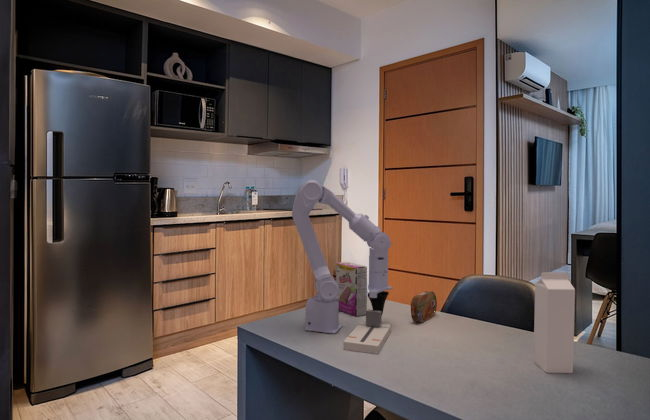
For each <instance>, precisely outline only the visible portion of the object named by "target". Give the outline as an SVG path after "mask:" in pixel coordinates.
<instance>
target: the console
mask: <svg viewBox="0 0 650 420" xmlns="http://www.w3.org/2000/svg"><path fill="white" fill-rule="evenodd" d="M391 332H392V324H388V323H381V326H380V327H374V326H366V321H360V322H359V323H358V325H356V327H355V328H354V329H353V330H352V332H350V334H349V335H347V337H346V338H345V339H344V340H343V341H342V342H343V343H342V345H343V346H342V348H343V350H345V351H351V352H352V351H353V352H360V353H367V354H375V355H378V354H379V353H380V352H381V350H382V348H383V346H384V345H385V343H386V342H387V340H388V338H389V336H390V334H391Z"/></svg>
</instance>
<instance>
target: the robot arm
mask: <svg viewBox="0 0 650 420" xmlns="http://www.w3.org/2000/svg"><path fill="white" fill-rule="evenodd" d="M293 201H294V202H293V207H292V210H291V217H292V220H293V222H294V224H295V227H296V230H297V233H298V235H299V238H300V241H301V243H302V246H303V249H304V251H305V254H306V256H307V260H308V262H309V265H310V268H311V270H312V273H313V275H314V287H315V289H316V294H315V295H314V296H313V297H308V299H307V300H306V304H305V328H304V330H305V331H308V332H309V331H310V332H319V333H325V334H336V333H337V332H339V330H341V329H342V327H343V326H344V324H343V323H339V321H340V319H339V315H340V312H339V297H338V294H339V285H338V284H337V282H336V279H335V278H334V276H333V275H331V272H330V269H329V266H328V265H327V262H326V260H325V255H324V253H323V251H322V249H321V246H320V242H319V240H318V238H317V235H316V233H315V230H314V227H313V224H312V221H311V218H310V214H311V211H312V210H313V208H314V205H315V204H317V203H320V204H324V205H327V206H329V207H330V208H331V209H333V210H334V211H335V212H336V213H338V215H340V216H341V217H343V219H345V220H346V221H347V222H348V229H349V230H351V231H352V232H353V233H354V234H356V236H358V238H360V239H361V240H362V241H363V242H365V243H366V244H367V246H368V249H369V255H368V284H367V290H369V291H368V292H367V297H368V299H369V301H370V303H371V308H372V309H371V310H377V311H382V315H383V314H384V309H385V304H386V300H387V298H388V296H389V295H390V294H389V293H390V292H389V290H390V291H391V290H392V289H393V286H392V285H389V249H390V248H391V245H392V242H391V239H390V236H389V235H388V234H387V233H385V232H382V230H381V229H382V228H381V226H379V225H375V223H373V222H372V221H371V220H370V217H369V216H368V215H367V214H365V215H364V214H363V213H355V212H354V211H353V210H352V209H351V208H350V207H349V206H348V205H347V204H346V203H344V202H343V200H341V198H340V197H338V196H337V195H336V194H335V192H332V191H331V190H330V189H329V188H327V187H326V186H324V185H322V184H321V183H320V182H319V181H317V180H314V179H309V180H306V181H305V182H303V183H302V184H301V185H300V186H299V188H298V190H297V191H296V193H295V198H294V200H293Z"/></svg>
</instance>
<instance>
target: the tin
mask: <svg viewBox="0 0 650 420" xmlns="http://www.w3.org/2000/svg"><path fill="white" fill-rule="evenodd" d="M437 304H438V302H437V297H436V294H435V292H434V291H429V290H428V291H427V290H426V291H423V292H420V293H418V294H416V295H414V296H413V298H412V299H411V301H410V317H411V319H412V320H413V322H416V323H421V324H423V323H425V322H427V321H429V320H430V319H432V318H434V316H435V315H436V312H437ZM434 311H435V312H434Z"/></svg>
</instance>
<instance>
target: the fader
mask: <svg viewBox="0 0 650 420" xmlns="http://www.w3.org/2000/svg"><path fill="white" fill-rule="evenodd" d="M382 316H383V314H382V311H377V310H373V309H367V311H366V315H365V322H366V326H374V327H380V326H381V324H382Z"/></svg>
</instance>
